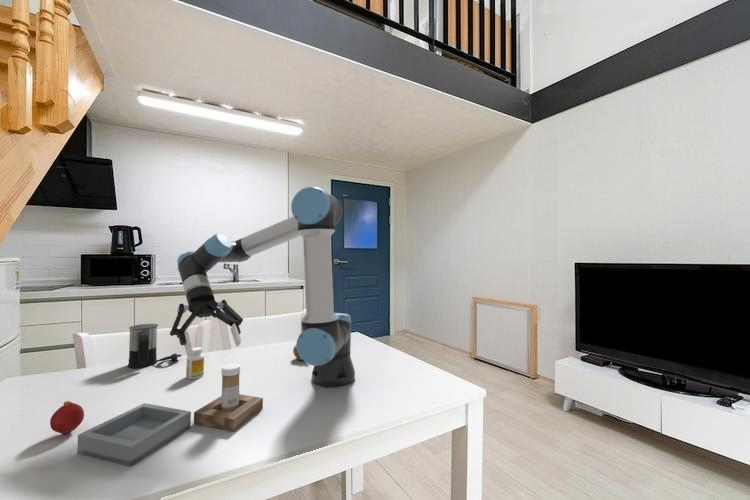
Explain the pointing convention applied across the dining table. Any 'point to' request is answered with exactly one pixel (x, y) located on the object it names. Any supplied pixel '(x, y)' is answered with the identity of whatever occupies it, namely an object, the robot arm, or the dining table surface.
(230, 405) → the sprinkles bottle
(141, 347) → the milk frother
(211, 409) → the walnut holder
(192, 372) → the supplement bottle
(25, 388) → the dining table surface
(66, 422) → the onion
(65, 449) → the dining table surface
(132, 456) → the grey tray
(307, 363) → the robot arm
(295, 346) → the onion
